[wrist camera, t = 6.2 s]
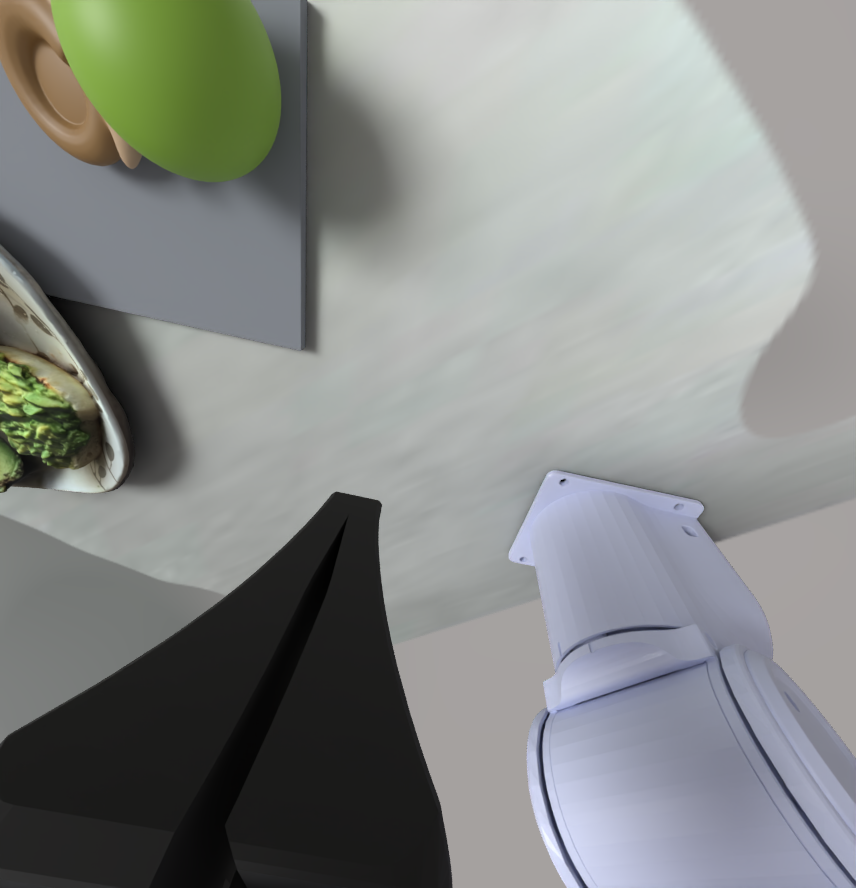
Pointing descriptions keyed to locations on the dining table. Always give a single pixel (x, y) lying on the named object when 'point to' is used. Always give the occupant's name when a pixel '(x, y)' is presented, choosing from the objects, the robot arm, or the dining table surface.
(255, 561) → the dining table surface
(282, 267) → the slate mat
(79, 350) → the salad plate
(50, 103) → the snail figurine
